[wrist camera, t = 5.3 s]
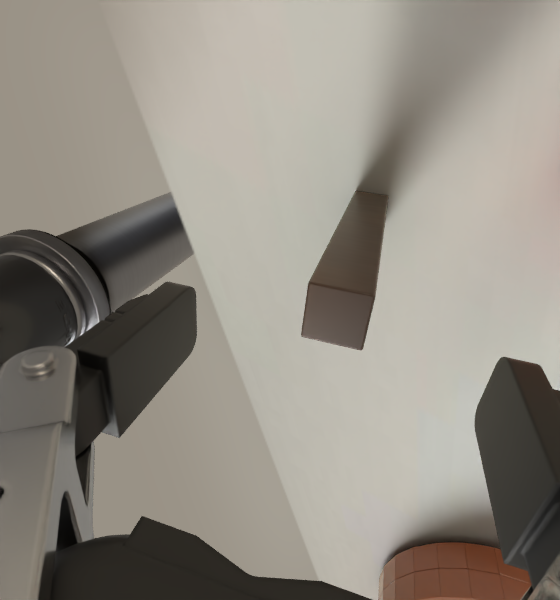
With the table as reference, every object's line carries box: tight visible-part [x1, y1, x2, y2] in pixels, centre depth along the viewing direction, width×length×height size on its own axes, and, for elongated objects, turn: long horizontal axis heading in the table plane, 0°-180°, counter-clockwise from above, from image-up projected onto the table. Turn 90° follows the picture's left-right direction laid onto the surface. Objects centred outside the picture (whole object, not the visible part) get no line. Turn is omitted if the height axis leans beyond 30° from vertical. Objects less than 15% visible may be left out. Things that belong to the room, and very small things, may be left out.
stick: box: [301, 191, 388, 350], centre depth 18 cm, size 2×2×14 cm
